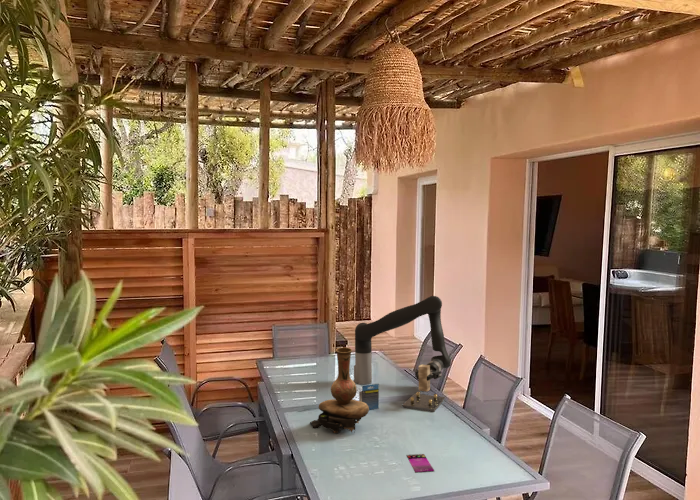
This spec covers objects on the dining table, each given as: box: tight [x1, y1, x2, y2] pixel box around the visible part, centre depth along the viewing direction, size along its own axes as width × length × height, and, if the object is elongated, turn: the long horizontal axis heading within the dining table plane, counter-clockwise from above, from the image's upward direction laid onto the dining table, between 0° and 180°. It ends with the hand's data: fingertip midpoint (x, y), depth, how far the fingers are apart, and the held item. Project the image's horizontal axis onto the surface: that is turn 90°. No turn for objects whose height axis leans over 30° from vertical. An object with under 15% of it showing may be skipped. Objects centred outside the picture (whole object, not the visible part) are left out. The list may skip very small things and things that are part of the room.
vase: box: [309, 347, 370, 434], centre depth 240 cm, size 24×22×35 cm
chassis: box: [401, 391, 446, 413], centre depth 271 cm, size 16×20×4 cm
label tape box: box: [358, 383, 380, 411], centre depth 264 cm, size 9×4×12 cm, turn 112°
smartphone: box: [406, 453, 435, 473], centre depth 204 cm, size 7×15×1 cm, turn 7°
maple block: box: [418, 363, 431, 393], centre depth 271 cm, size 4×4×12 cm
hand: (422, 378), depth 269 cm, fingers closed on maple block, 4 cm apart
